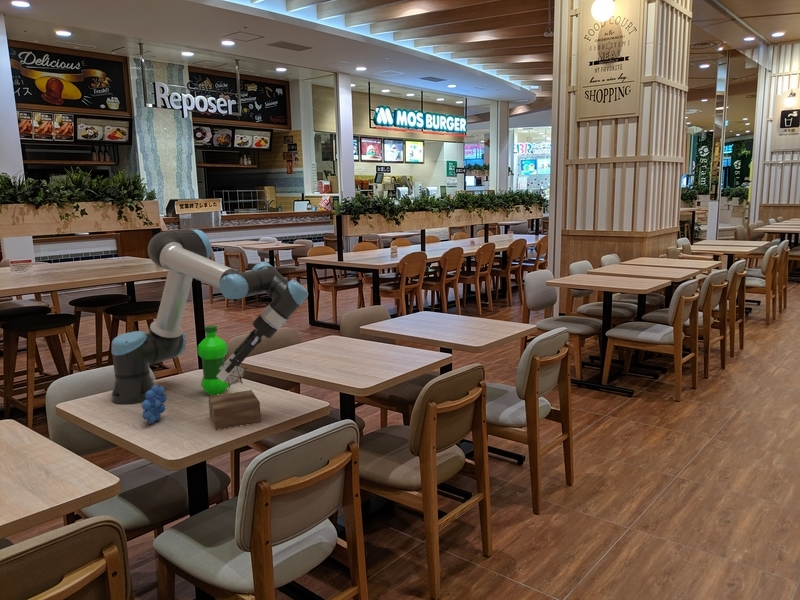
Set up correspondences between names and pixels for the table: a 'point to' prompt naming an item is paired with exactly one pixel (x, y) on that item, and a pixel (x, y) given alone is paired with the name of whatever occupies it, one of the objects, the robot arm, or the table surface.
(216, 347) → the plastic bottle
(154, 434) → the table surface
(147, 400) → the grapes
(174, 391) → the table surface
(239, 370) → the white wireframe polyhedron
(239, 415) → the walnut block
